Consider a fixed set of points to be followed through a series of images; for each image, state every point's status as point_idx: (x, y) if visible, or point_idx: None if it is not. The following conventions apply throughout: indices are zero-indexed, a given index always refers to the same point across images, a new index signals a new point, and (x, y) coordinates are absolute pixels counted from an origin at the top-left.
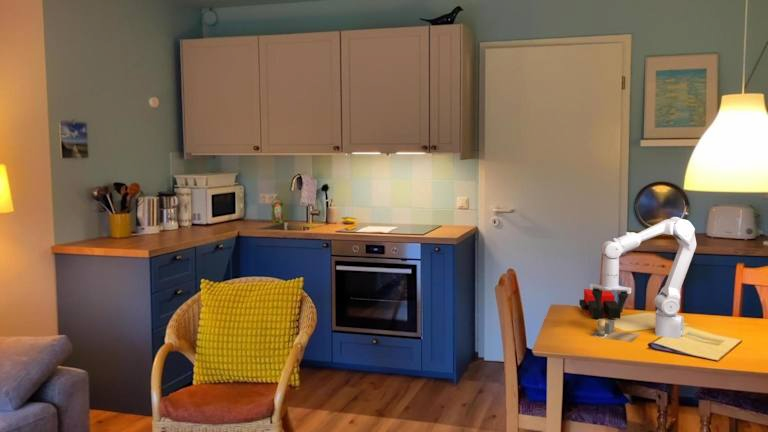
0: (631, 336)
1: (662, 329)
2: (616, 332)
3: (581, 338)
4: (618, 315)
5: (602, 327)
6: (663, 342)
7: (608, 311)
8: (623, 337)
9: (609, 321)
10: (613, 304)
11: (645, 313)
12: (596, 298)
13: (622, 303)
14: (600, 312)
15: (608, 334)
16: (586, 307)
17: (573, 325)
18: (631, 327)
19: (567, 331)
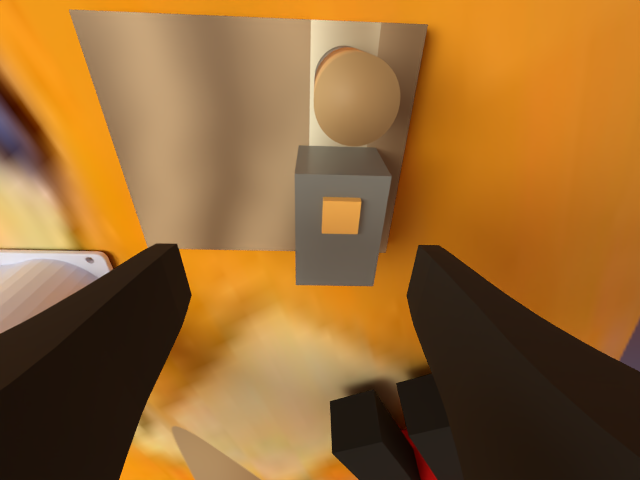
0: (162, 179)
1: (6, 292)
2: (276, 219)
3: (480, 3)
4: (338, 413)
5: (328, 56)
6: (12, 212)
7: (386, 427)
8: (189, 125)
9: (318, 245)
10: (377, 477)
11: (292, 476)
12: (570, 355)
13: (9, 329)
14: (419, 405)
15: (303, 146)
16: None
17: (528, 279)
18: (270, 357)
19: (577, 149)
